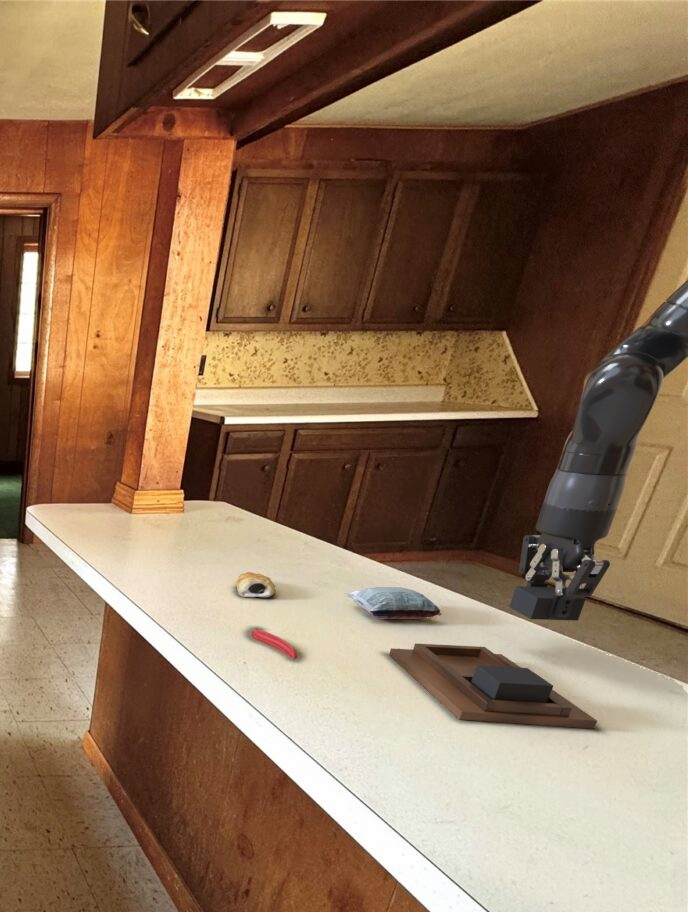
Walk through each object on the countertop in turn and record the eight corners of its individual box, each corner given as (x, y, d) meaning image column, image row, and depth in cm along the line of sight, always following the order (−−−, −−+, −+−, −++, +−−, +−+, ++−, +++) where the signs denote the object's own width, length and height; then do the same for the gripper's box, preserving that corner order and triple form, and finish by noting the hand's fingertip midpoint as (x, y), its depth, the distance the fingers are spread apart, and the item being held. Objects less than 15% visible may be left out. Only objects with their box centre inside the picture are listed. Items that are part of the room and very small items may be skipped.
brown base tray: (498, 660, 101) (504, 646, 100) (594, 728, 84) (601, 712, 83) (388, 655, 104) (392, 640, 103) (459, 719, 87) (464, 703, 86)
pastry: (231, 581, 136) (234, 563, 135) (267, 584, 134) (271, 566, 133) (237, 597, 128) (240, 578, 127) (276, 600, 126) (280, 582, 125)
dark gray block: (554, 608, 102) (561, 587, 101) (578, 620, 98) (586, 598, 97) (508, 606, 104) (515, 586, 102) (530, 619, 99) (537, 597, 98)
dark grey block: (519, 690, 91) (527, 667, 90) (544, 709, 86) (553, 685, 85) (469, 687, 92) (476, 665, 91) (491, 705, 88) (499, 682, 86)
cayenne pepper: (243, 630, 115) (245, 620, 115) (272, 630, 115) (274, 620, 114) (271, 661, 104) (273, 650, 104) (302, 662, 104) (305, 651, 103)
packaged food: (341, 604, 123) (347, 580, 121) (410, 605, 122) (417, 580, 120) (367, 624, 115) (374, 598, 113) (441, 625, 114) (449, 599, 112)
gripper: (654, 514, 87) (609, 631, 93) (574, 491, 100) (539, 595, 106) (586, 514, 89) (546, 629, 95) (516, 491, 102) (485, 593, 108)
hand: (543, 610), depth 101 cm, fingers closed on dark gray block, 5 cm apart
